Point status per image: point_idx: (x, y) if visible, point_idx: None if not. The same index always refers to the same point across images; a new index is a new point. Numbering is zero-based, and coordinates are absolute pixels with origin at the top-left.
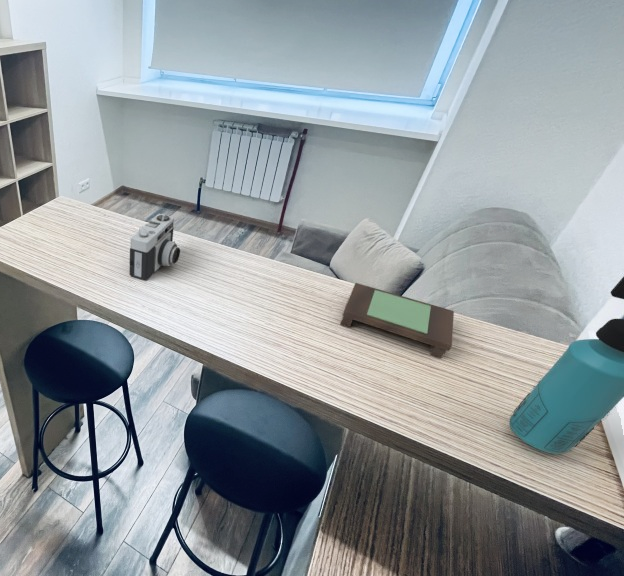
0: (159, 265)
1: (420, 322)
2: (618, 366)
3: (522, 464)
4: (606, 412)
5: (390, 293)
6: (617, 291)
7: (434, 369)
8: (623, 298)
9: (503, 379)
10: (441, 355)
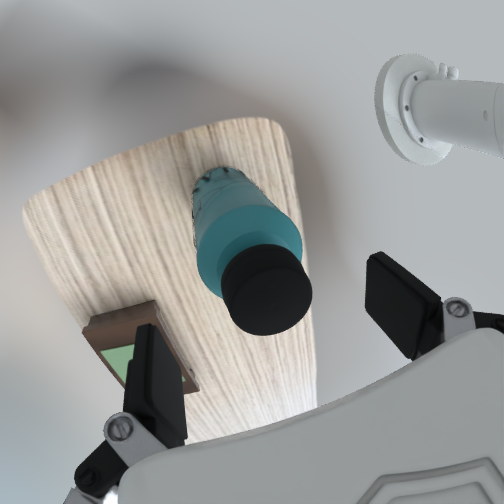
0: None
1: None
2: (295, 251)
3: (268, 191)
4: (254, 187)
5: (119, 380)
6: (181, 380)
7: (181, 297)
8: (173, 357)
9: (128, 242)
10: (155, 304)
